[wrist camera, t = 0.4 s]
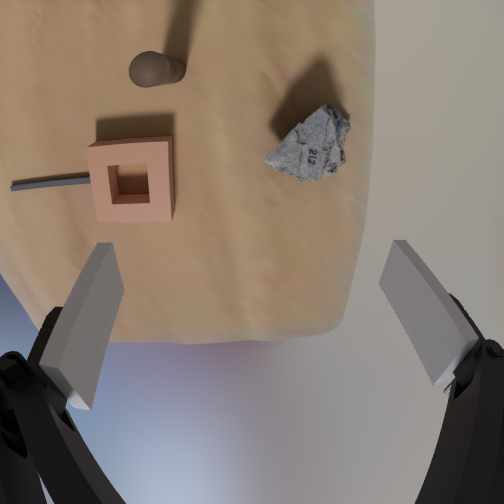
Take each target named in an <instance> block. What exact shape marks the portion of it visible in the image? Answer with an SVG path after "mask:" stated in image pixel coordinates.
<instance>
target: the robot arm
mask: <svg viewBox="0 0 504 504" xmlns="http://www.w3.org/2000/svg"><path fill="white" fill-rule="evenodd" d="M379 285H380V287H381V289H382V290H383V292H384V294H385V295H386V297H387V299H388V301H389V302H390V304H391V306H392V308H393V309H394V311H395V313H396V314H397V316H398V318H399V320H400V322H401V323H402V325H403V327H404V329H405V331H406V333H407V335H408V336H409V338H410V340H411V342H412V344H413V345H414V348H415V350H416V352H417V354H418V356H419V357H420V360H421V362H422V363H423V366H424V367H425V369H426V372H427V374H428V376H429V378H430V380H431V382H432V384H433V385H435V384H438V383H440V382H444V381H446V380H447V379H448V377H449V376H450V375H451V374H452V373H454V375H455V379H453V381H452V382H451V383H450V384H449V385H448V386H447V387H446V388H445V390H444V392H443V393H444V394H445V393H446V392H447V391H448V390H449V389H450V388H451V390H450V393H449V394H448V395H449V399H448V404H447V408H446V412H445V417H444V420H443V424H442V428H441V432H440V436H439V439H438V442H437V445H436V449H435V452H434V455H433V458H432V461H431V464H430V467H429V469H428V472H427V475H426V477H425V480H424V483H423V485H422V488H421V490H420V492H419V495H418V497H417V500H416V502H415V504H504V349H502V347H501V346H500V345H499V344H498V343H497V342H495V341H494V340H491V339H488V340H485V338H484V337H483V335H482V334H481V332H480V331H479V329H478V328H477V326H476V325H475V323H474V322H473V320H472V319H471V318H470V317H469V315H468V313H467V312H466V310H464V308H463V306H462V305H461V303H460V302H459V301H458V300H457V299H456V298H455V297H454V296H452V295H451V294H450V293H448V292H447V291H446V290H445V289H444V287H443V286H442V285H441V283H440V282H439V281H438V279H437V278H436V277H435V275H434V274H433V273H432V272H431V270H430V269H429V268H428V267H427V265H426V264H425V263H424V262H423V260H422V259H421V258H420V257H419V255H418V254H417V253H416V252H415V251H414V250H413V248H412V247H411V246H410V245H409V244H408V243H407V241H406V240H393V243H392V246H391V249H390V252H389V255H388V258H387V261H386V264H385V267H384V270H383V272H382V275H381V278H380V281H379ZM124 290H125V289H124V286H123V282H122V278H121V275H120V271H119V267H118V263H117V259H116V255H115V251H114V247H113V243H97V245H96V246H95V248H94V250H93V252H92V253H91V255H90V257H89V259H88V260H87V262H86V264H85V266H84V268H83V270H82V271H81V273H80V275H79V277H78V279H77V281H76V283H75V285H74V287H73V289H72V291H71V293H70V295H69V297H68V299H67V301H66V303H65V305H64V307H55V308H54V309H53V310H52V311H51V312H50V313H49V314H48V315H47V316H46V318H45V321H44V323H43V325H42V328H41V329H40V331H39V333H38V336H37V338H36V340H35V342H34V345H33V347H32V350H31V352H30V354H29V356H28V359H27V361H26V360H25V358H24V357H23V356H22V354H20V353H19V352H17V351H10V352H7V353H5V354H4V355H2V356H1V357H0V504H47V502H46V498H45V495H44V492H43V489H42V485H41V481H40V478H39V475H40V477H41V479H42V481H43V483H44V485H45V487H46V489H47V491H48V493H49V495H50V496H51V498H52V500H53V502H54V504H126V503H125V502H124V500H123V499H122V498H121V496H120V495H119V494H118V492H117V491H116V490H115V489H114V487H113V486H112V484H111V483H110V481H109V480H108V478H107V477H106V476H105V474H104V473H103V471H102V470H101V468H100V467H99V465H98V463H97V462H96V460H95V459H94V457H93V455H92V454H91V452H90V451H89V449H88V447H87V446H86V444H85V442H84V440H83V439H82V437H81V435H80V433H79V431H78V430H77V428H76V426H75V424H74V422H73V420H72V418H71V416H70V414H69V412H68V411H67V409H66V408H65V406H66V402H67V400H68V401H69V402H70V404H71V405H72V406H73V407H75V408H80V409H86V410H91V409H92V404H93V400H94V396H95V391H96V387H97V383H98V379H99V374H100V371H101V367H102V363H103V359H104V355H105V351H106V348H107V344H108V341H109V338H110V334H111V331H112V328H113V324H114V321H115V318H116V315H117V312H118V308H119V305H120V302H121V299H122V296H123V293H124ZM38 473H39V474H38Z"/></svg>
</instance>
